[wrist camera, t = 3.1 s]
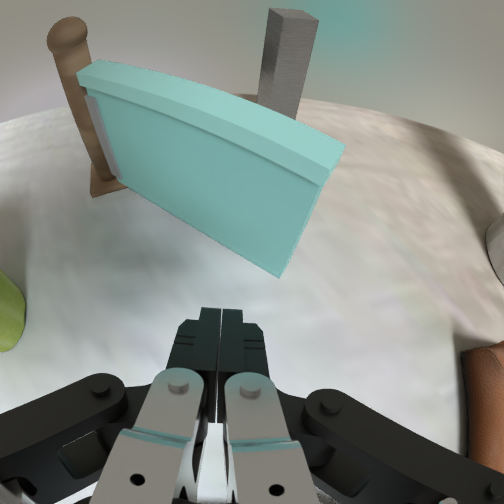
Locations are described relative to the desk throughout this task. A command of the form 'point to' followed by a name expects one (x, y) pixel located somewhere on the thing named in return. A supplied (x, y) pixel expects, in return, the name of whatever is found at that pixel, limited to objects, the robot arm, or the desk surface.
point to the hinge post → (80, 96)
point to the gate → (211, 158)
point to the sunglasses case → (485, 404)
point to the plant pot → (10, 313)
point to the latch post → (285, 59)
